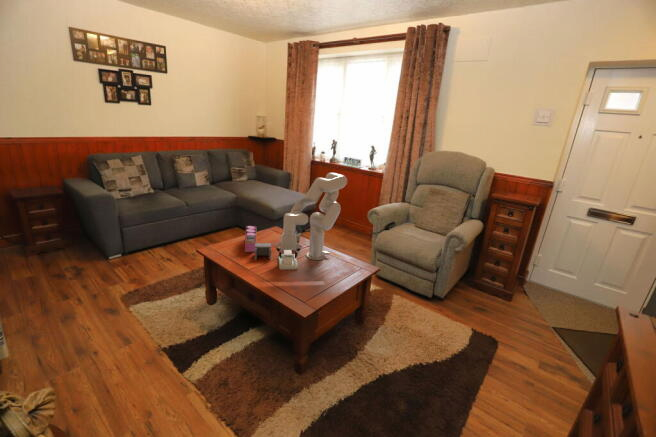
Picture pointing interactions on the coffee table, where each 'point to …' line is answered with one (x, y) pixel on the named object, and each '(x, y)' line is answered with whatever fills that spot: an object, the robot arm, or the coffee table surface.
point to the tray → (288, 267)
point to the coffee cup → (298, 233)
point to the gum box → (250, 238)
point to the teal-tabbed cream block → (288, 257)
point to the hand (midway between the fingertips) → (287, 257)
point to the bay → (262, 249)
